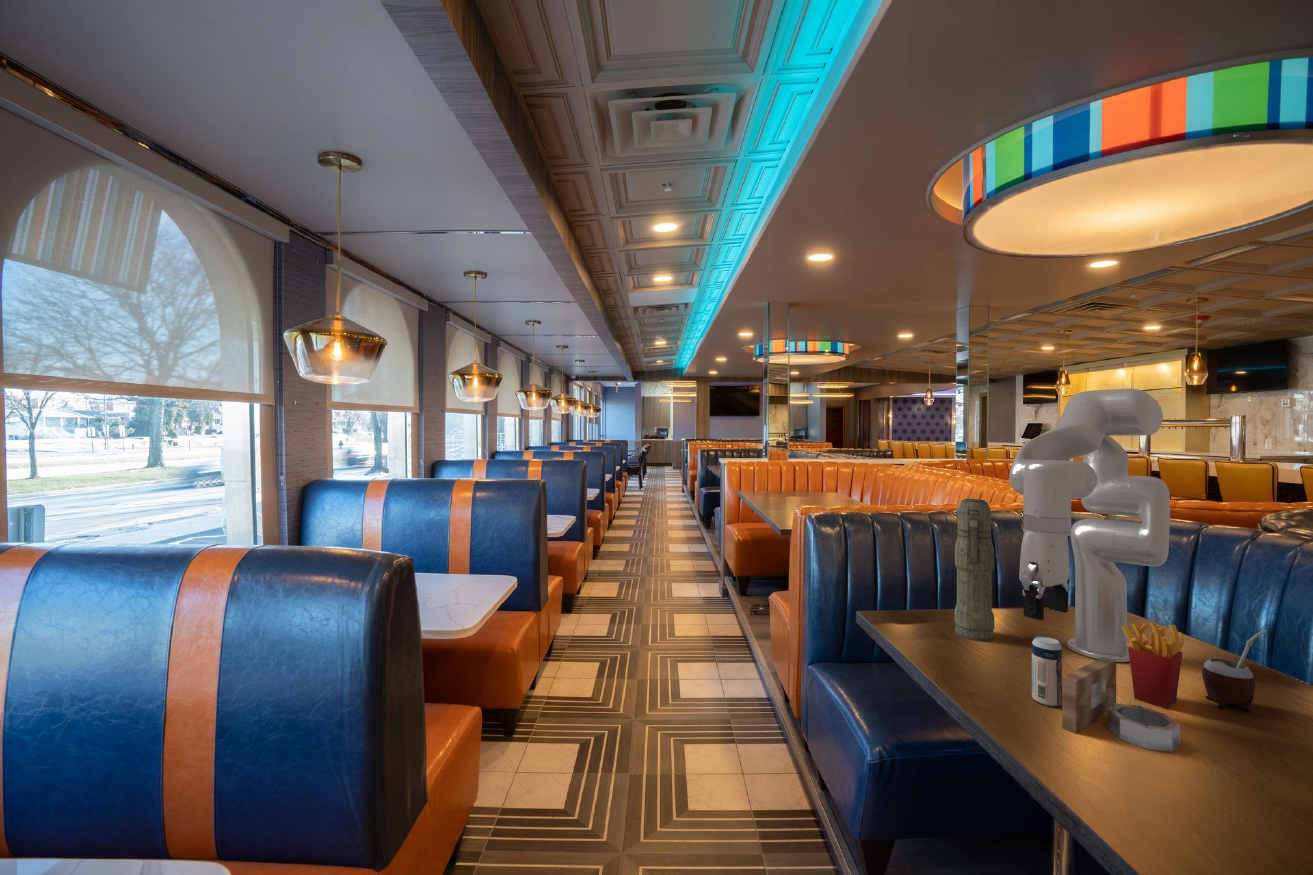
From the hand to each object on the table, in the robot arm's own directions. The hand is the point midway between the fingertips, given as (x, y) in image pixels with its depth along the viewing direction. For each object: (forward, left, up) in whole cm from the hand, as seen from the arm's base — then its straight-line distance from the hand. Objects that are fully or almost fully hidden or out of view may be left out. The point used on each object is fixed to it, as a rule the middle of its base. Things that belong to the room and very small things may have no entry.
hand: (1046, 614), depth 105 cm
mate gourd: (-29, +19, -17) cm, 39 cm away
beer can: (-1, 0, -17) cm, 17 cm away
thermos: (-25, -27, -17) cm, 41 cm away
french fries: (-20, +10, -17) cm, 28 cm away
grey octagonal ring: (-1, +14, -17) cm, 22 cm away
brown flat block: (-1, +7, -17) cm, 18 cm away
